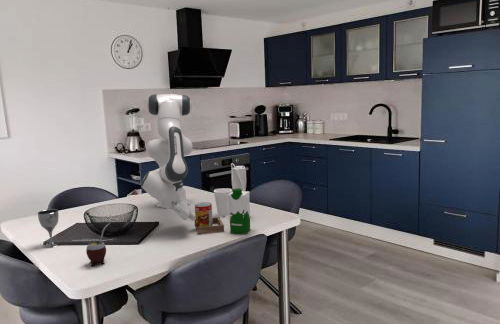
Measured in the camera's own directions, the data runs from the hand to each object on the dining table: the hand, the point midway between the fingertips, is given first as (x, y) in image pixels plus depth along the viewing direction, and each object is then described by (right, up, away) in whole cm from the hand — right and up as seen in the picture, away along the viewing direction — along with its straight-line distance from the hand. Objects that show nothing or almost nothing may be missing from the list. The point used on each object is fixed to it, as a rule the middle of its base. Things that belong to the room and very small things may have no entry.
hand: (194, 218), depth 196 cm
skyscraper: (+21, -2, +18) cm, 27 cm away
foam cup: (+12, -1, +25) cm, 28 cm away
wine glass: (-60, -10, -13) cm, 62 cm away
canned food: (+5, -5, +2) cm, 7 cm away
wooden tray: (+6, -5, +2) cm, 8 cm away
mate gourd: (-32, -12, -35) cm, 49 cm away
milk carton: (+22, -5, -4) cm, 23 cm away
